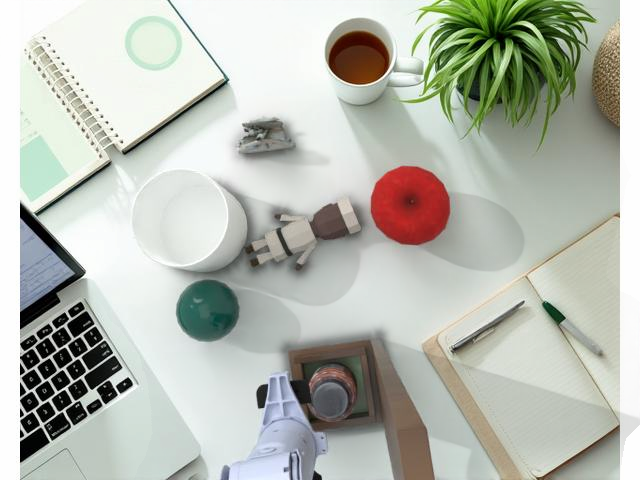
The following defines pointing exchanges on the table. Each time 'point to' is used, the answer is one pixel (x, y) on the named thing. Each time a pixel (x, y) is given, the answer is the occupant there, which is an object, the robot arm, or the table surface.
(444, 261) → the table surface
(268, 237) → the toy
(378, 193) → the apple
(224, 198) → the cup
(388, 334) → the table surface
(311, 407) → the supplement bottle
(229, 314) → the sphere
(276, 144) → the grey irregular chunk
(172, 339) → the table surface
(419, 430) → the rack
